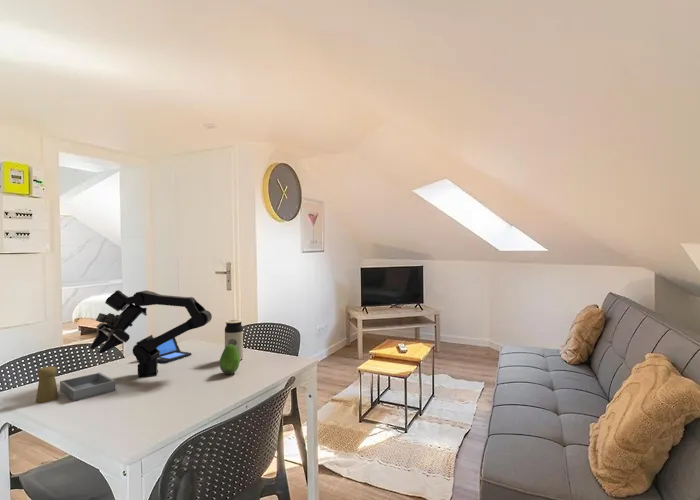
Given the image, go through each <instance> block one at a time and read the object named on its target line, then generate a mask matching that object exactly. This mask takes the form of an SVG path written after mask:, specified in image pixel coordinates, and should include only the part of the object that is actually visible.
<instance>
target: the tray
mask: <svg viewBox="0 0 700 500" xmlns="http://www.w3.org/2000/svg"><path fill="white" fill-rule="evenodd" d="M115 391H116V380H115V379H113V378H111V377H109V376H107V375H106V374H104V373H102V372H100V371H99V372H95V373H91V374H86V375H82V376H77V377H73V378H68V379H63V380H59V392H60V393H62V394H63V395H64V396H66V397H67V398H68V399H69V400H71V401H72V402H78V401H80V400H81V401H82V400H86V399H88V398H89V399H90V398H93V397H97V396H100V395H105V394H108V393H113V392H115Z"/></svg>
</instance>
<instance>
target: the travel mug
mask: <svg viewBox="0 0 700 500" xmlns="http://www.w3.org/2000/svg"><path fill="white" fill-rule="evenodd" d="M242 323H243V320H242V319H240V318H239V319H238V318H237V319H235V318H233V319H227V320H225V327H224V348H225V347H226V346H227V345H229V344H232V345H235V346H236V347H237V350H238V353H239V358H240V361H242V360H243V359H244V349H243V347H244V345H243V344H244V343H243V340H244V335H243V334H244V331H243V330H244V328H243V325H242ZM241 359H242V360H241Z"/></svg>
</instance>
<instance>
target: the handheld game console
mask: <svg viewBox="0 0 700 500" xmlns="http://www.w3.org/2000/svg"><path fill="white" fill-rule="evenodd" d="M157 349H158V350H159V351H160V353H159V356H158V357H157V363H159V364H160V363H162V364H168V363H171V362H175V361H178V360H181V359H185V358H188V357H190V355H191V356H192V352H188V351H182V350H181V349H180V347H179V345H178V342H177V339H176V337H175V338H173V339H171V340H169V341H167V342H165V343H163V344H161V345H160V346H159V347H157ZM184 357H185V358H184Z"/></svg>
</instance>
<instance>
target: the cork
mask: <svg viewBox="0 0 700 500" xmlns="http://www.w3.org/2000/svg"><path fill="white" fill-rule="evenodd" d="M57 372H58V369H57V367H56V366H50V365H49V366H43V367H40V368H39V369H38V371H37V373H36V374H37V375H36V376H37V377H38V384H37V391H36V397H35V403H36V404H47V403H50V402H53V401H56V400H58V399H59V393H58V392H59V391H58V387H57V382H56V375H57Z"/></svg>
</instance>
